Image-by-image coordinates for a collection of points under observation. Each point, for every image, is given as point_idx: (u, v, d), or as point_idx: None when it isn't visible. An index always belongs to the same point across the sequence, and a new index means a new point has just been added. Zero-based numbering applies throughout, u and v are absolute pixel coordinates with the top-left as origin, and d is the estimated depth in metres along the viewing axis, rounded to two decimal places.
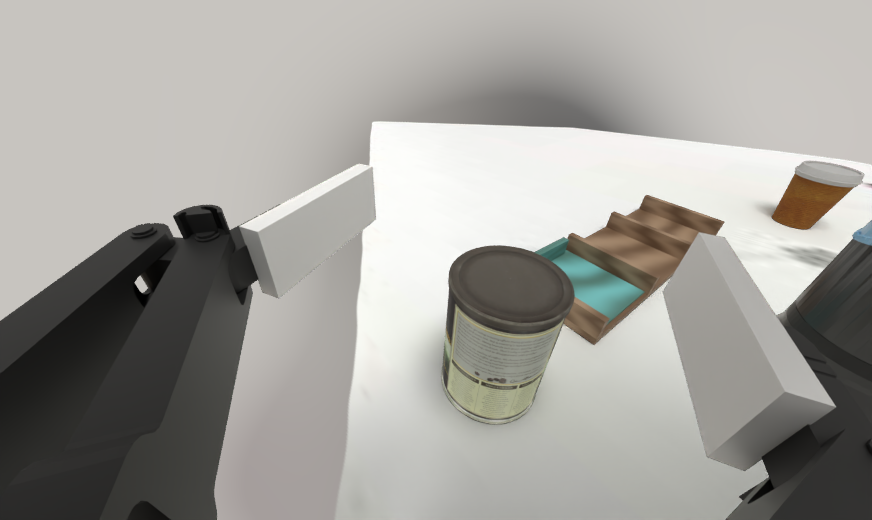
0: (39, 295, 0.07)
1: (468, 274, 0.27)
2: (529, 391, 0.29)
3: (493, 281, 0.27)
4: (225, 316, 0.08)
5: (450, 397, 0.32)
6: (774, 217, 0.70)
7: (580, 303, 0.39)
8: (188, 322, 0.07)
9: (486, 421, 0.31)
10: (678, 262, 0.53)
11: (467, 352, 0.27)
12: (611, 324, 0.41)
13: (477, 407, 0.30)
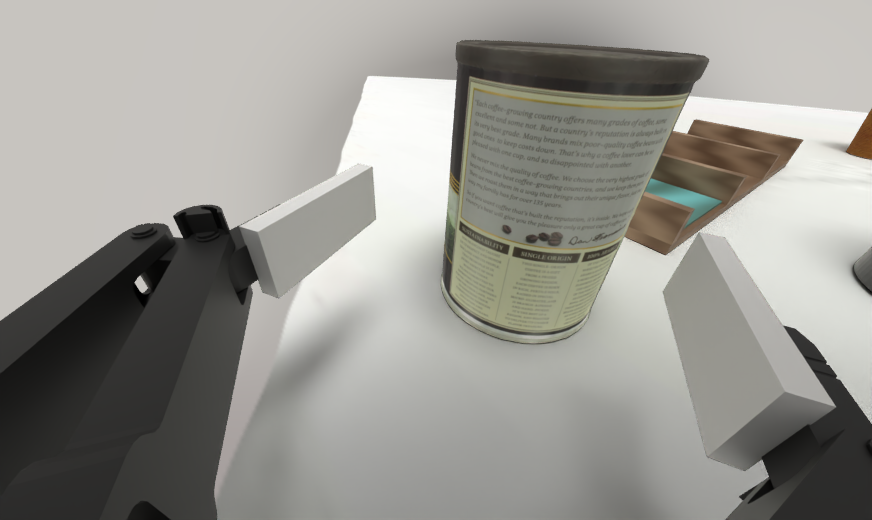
0: (40, 295, 0.07)
1: None
2: (595, 278, 0.17)
3: None
4: (225, 316, 0.08)
5: (455, 305, 0.20)
6: (850, 150, 0.57)
7: (646, 194, 0.27)
8: (188, 322, 0.07)
9: (515, 338, 0.18)
10: (753, 179, 0.40)
11: (490, 183, 0.14)
12: (687, 230, 0.28)
13: (502, 310, 0.17)
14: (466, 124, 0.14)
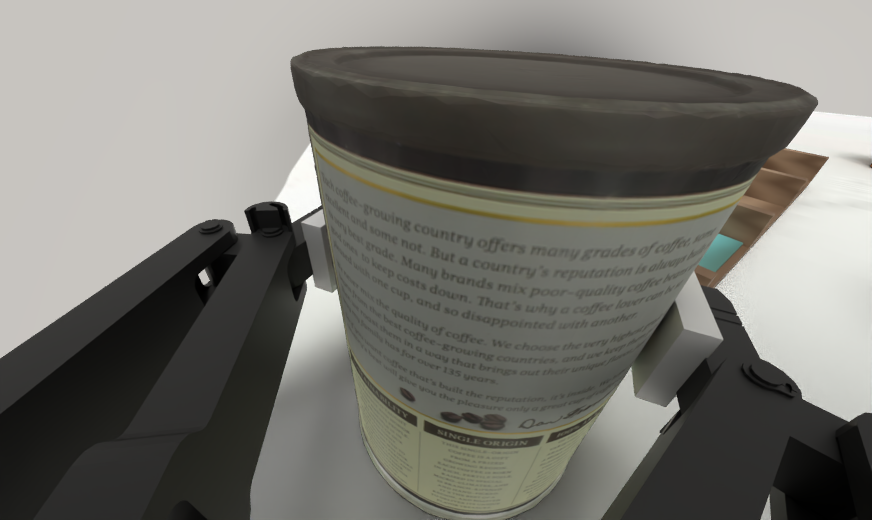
0: (114, 283, 0.08)
1: (381, 59, 0.08)
2: (573, 445, 0.10)
3: (463, 67, 0.07)
4: (279, 313, 0.09)
5: (368, 445, 0.13)
6: None
7: None
8: (245, 318, 0.07)
9: (451, 516, 0.12)
10: (776, 208, 0.34)
11: (368, 321, 0.07)
12: None
13: (424, 484, 0.11)
14: (323, 208, 0.07)
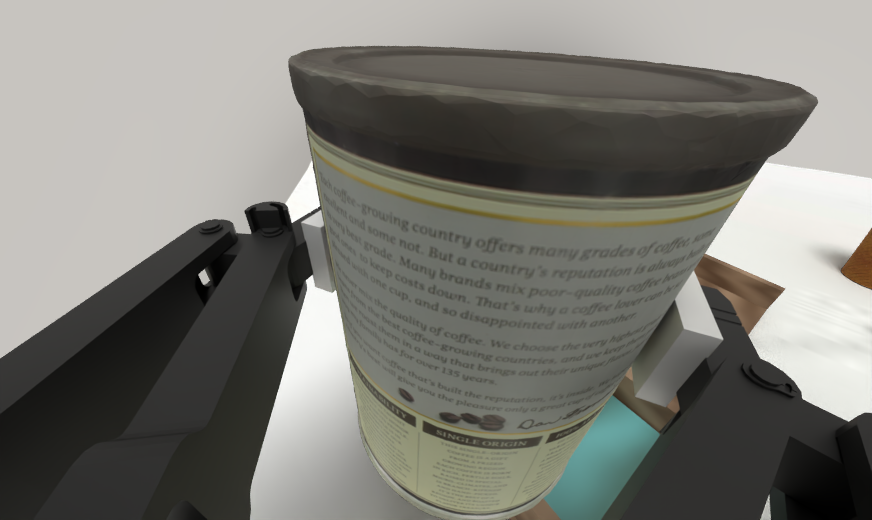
0: (114, 282, 0.08)
1: (379, 59, 0.08)
2: (572, 445, 0.10)
3: (462, 66, 0.07)
4: (279, 312, 0.09)
5: (367, 445, 0.13)
6: (846, 272, 0.49)
7: None
8: (245, 318, 0.07)
9: (451, 517, 0.12)
10: None
11: (367, 321, 0.07)
12: None
13: (423, 485, 0.11)
14: (322, 207, 0.07)
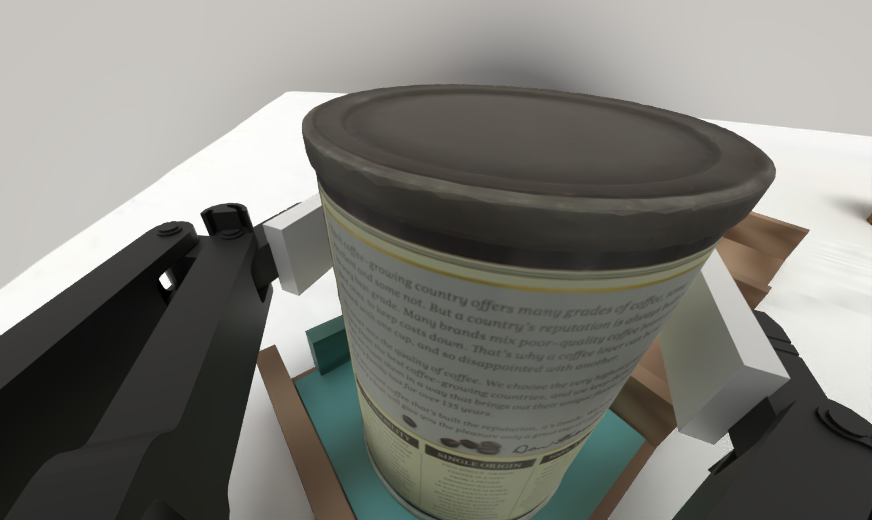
0: (68, 290, 0.08)
1: (383, 110, 0.09)
2: (566, 463, 0.11)
3: (460, 120, 0.08)
4: (245, 314, 0.09)
5: (372, 459, 0.14)
6: None
7: None
8: (209, 320, 0.07)
9: None
10: None
11: (373, 356, 0.08)
12: None
13: (426, 499, 0.11)
14: (331, 251, 0.08)
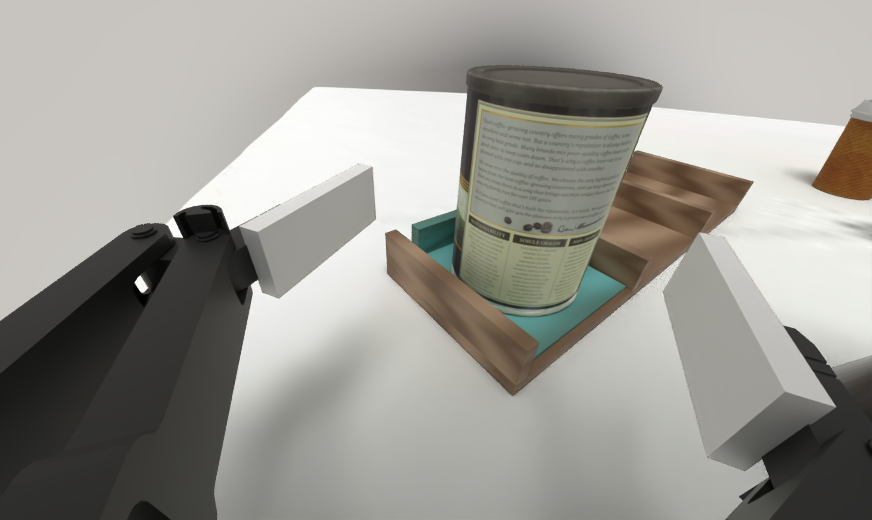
0: (39, 295, 0.07)
1: (496, 74, 0.18)
2: (580, 260, 0.20)
3: (534, 77, 0.18)
4: (225, 316, 0.08)
5: None
6: (817, 184, 0.49)
7: (484, 308, 0.19)
8: (188, 322, 0.07)
9: (515, 312, 0.22)
10: (684, 239, 0.32)
11: (494, 183, 0.18)
12: (554, 350, 0.20)
13: (504, 288, 0.21)
14: (475, 136, 0.18)
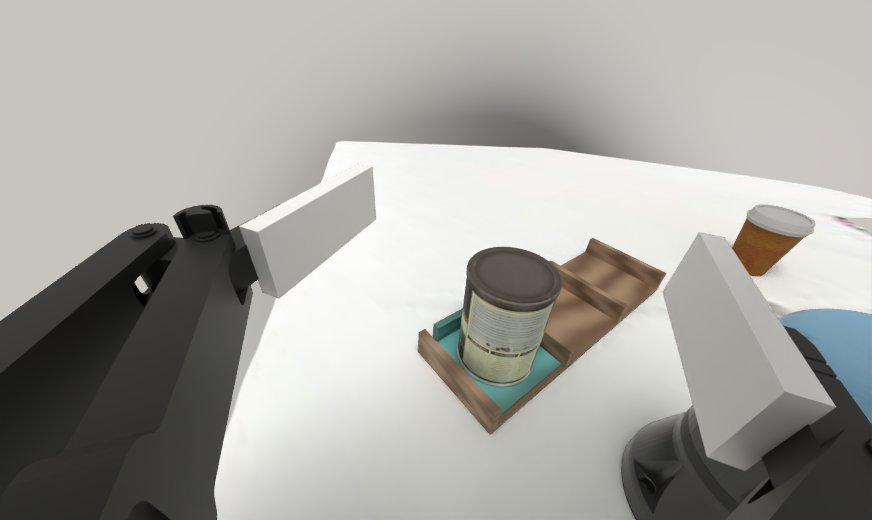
0: (39, 295, 0.07)
1: (481, 268, 0.36)
2: (527, 360, 0.38)
3: (501, 273, 0.35)
4: (225, 316, 0.08)
5: (465, 367, 0.41)
6: None
7: (475, 388, 0.36)
8: (188, 322, 0.07)
9: (493, 384, 0.39)
10: (609, 322, 0.50)
11: (480, 327, 0.35)
12: (513, 408, 0.37)
13: (487, 373, 0.38)
14: (471, 303, 0.35)
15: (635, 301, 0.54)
